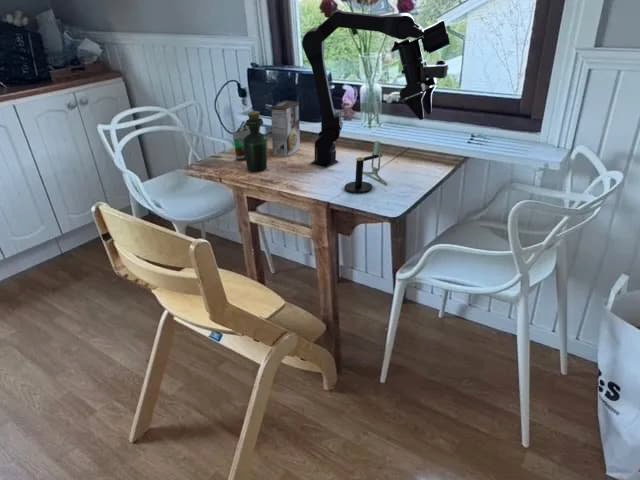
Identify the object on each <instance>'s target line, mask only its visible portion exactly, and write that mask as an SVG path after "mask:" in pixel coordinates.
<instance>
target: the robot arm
mask: <svg viewBox="0 0 640 480" xmlns="http://www.w3.org/2000/svg"><path fill="white" fill-rule="evenodd" d="M339 28H342V29H349V30H350V29H351V30H359V31H369V32H375V33H376V32H377V33H382V34H383V35H386V36H387V37H391V38H394V39H397V40H401V41H399V42H398V41H396V40H395V41H393V46H392V47H391V49H390V52H391V53H395V52H397V51H398V54H399V59H400V62H401V66H402V69H401V75H403V76H404V78H405V82H406V84H404V86H405V87H402V88H401V89H400V91H399V93H398V94H399V98H400V101H402V103H404V104H405V105H406V106H407V107H408V108H409V109H410V111H412V113H413V114H414V115H415V116H416V117H417V118H418V120H420V121H422V120H424V119H425V115H424V113H426V114H427V115H431V114H432V109H433V107H432V105H433V93H434V91H435V89H436V88H437V84H438V80H439V79H445V78H446V77H447V76H448V70H449V64H448V63H446V60H444V59H440V60H437V61H436V63H435V64H428V61H427V60H424V56H423V53H422V48H423V52H424V53H428V54H429V55H431V54H434V53H435V52H438V51H440V50H442V49H444V48H447V47H450V46H451V41H450V36H449V33H448V31H447V28H446V25H445V20H444V19H441V20H439V21H437V22H436V23H434V24H432V25H429V26H428V27H425V28H423V27H422V25H419V24H417V22H415V19H414V17H413V15H412V14H410V13H408V12H400V13H391V14H386V15H385V14H382V15H381V14H373V13H362V12H355V11H354V12H353V11H344V10H342V9H337V10H334V11H333V12H332V14H331V15H330V16H329V17H328V18H326V19H325V20H324V21H323V22H322V23H320V24H319V25H318V26H317V27H312V28H310V29H308V30H307V31H306V33H305V34H304V35H303V37H302V40H301V46H302V49H303V53H304V54H305V57H306V59H307V61H308V63H309V64H310V67H311V71H312V75H313V80H314V85H315V91H316V94H317V99H318V104H319V108H320V115H321V118H320V119H321V121H320V128H321V129H320V131H319V132H318V133H317V134H316V135H317V136H316V138H315V141H314V160H313V161H311V162H310V164H311V165H313V166H318V167H321V168H328V167H330V166H332V165H335V164H337V163H338V162H339V161H338V160H337V159H336V158H337V150H336V144H335V143H334V142H336V141H337V140H338V139H339V138H340V136H341V131H342V129H343V125H344V122H343V121H342V113H341V111H338V112H337V111H336V109H335V107H334V102H333V99H332V93H331V87H330V83H329V80H328V79H329V78H328V73H327V68H326V63H325V41H326V39H327V38H329V37H330V36H331V35H332V34H333V33H334V32H335V31H336V30H338V29H339ZM410 38H412V39H413V40H410ZM420 41H421V43H420ZM421 44H422V48H421ZM424 111H425V112H424Z"/></svg>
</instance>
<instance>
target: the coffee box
mask: <svg viewBox="0 0 640 480" xmlns="http://www.w3.org/2000/svg"><path fill="white" fill-rule="evenodd" d="M270 112H271V113H270V117H271V118H270V119H271V145H272V155H273V156H279V157H286V158H287V157H290V156H291V155H293V154H294V153H295V152H297V151H298V150H300V149H301V145H300V143H301V141H300V136H301V135H300V101H293V100H282V101H280V102H279V103H276V104H275V105H273V106H271V107H270Z"/></svg>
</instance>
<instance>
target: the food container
mask: <svg viewBox="0 0 640 480" xmlns="http://www.w3.org/2000/svg"><path fill="white" fill-rule="evenodd" d="M245 124H246V122H243V125H242V126H241V127H239V128H238V129H237V131H236V132H235V131H232V140H233V143H234V150H235V151H234V152H235V161H237V162H241V161H246V157H245V151H244V144H243V140H244V138H245V137H246V136H247V135H248V134H250V129H249V127H248V126H246V125H245Z"/></svg>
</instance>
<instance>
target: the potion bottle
mask: <svg viewBox="0 0 640 480" xmlns="http://www.w3.org/2000/svg"><path fill="white" fill-rule="evenodd" d="M260 113H261V112H260V111H258V110H252V111H248V112H247V115H248V119H246V120H245V123H246V124H245V125H246V126H248V127H249V129H250V134H248V135H247V136H246V137H245V138H244V140H243V144H244V151H245V157H246V160H245V163H246V169H247V171H248V172H251V173H260V172H263V171H266V169H267V167H268V166H267V164H268V163H267V162H268V143H269V142H268V141H269V140H268V137H267V136H266V135H265V134H264V133H262V132H260V129H261V126H263V125H264V121H263V119H262V118H260Z"/></svg>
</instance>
